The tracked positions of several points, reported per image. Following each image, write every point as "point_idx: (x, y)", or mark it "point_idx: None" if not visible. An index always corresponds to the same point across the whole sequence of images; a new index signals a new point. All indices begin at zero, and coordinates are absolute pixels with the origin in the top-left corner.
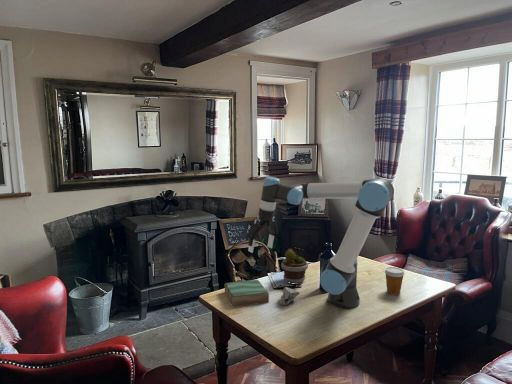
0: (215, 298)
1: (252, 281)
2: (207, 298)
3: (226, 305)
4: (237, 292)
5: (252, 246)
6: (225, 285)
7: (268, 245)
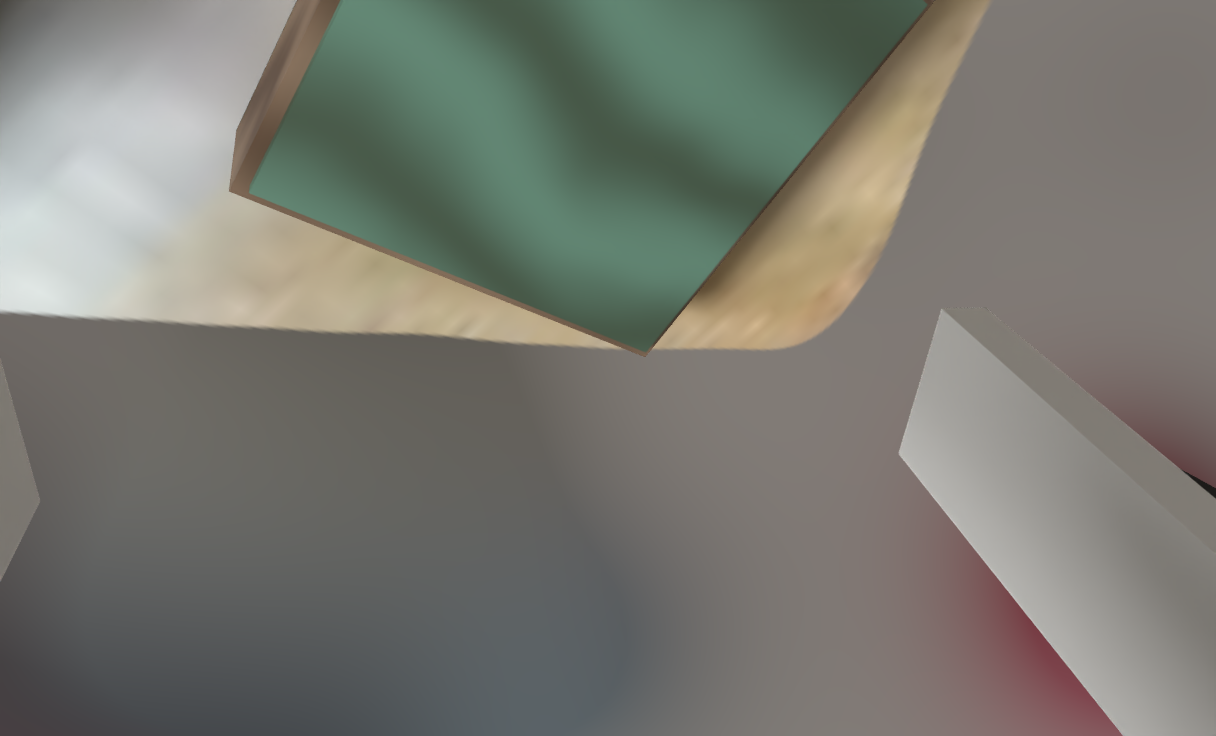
0: (791, 244)
1: (367, 184)
2: (828, 290)
3: None
4: (797, 58)
5: (1125, 440)
6: (673, 320)
7: (9, 496)
